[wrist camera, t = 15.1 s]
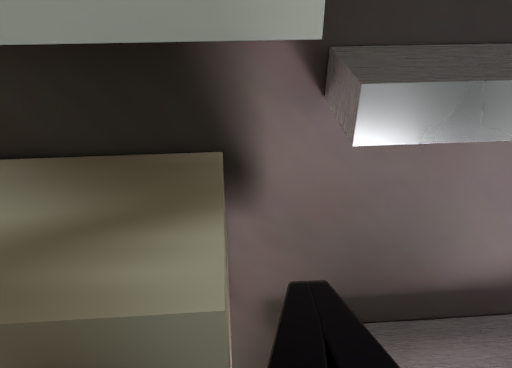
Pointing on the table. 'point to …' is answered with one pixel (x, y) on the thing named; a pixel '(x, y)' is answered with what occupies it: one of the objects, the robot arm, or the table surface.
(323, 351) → the robot arm
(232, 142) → the table surface
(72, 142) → the table surface
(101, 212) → the slider
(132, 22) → the tray
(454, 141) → the slide rails
